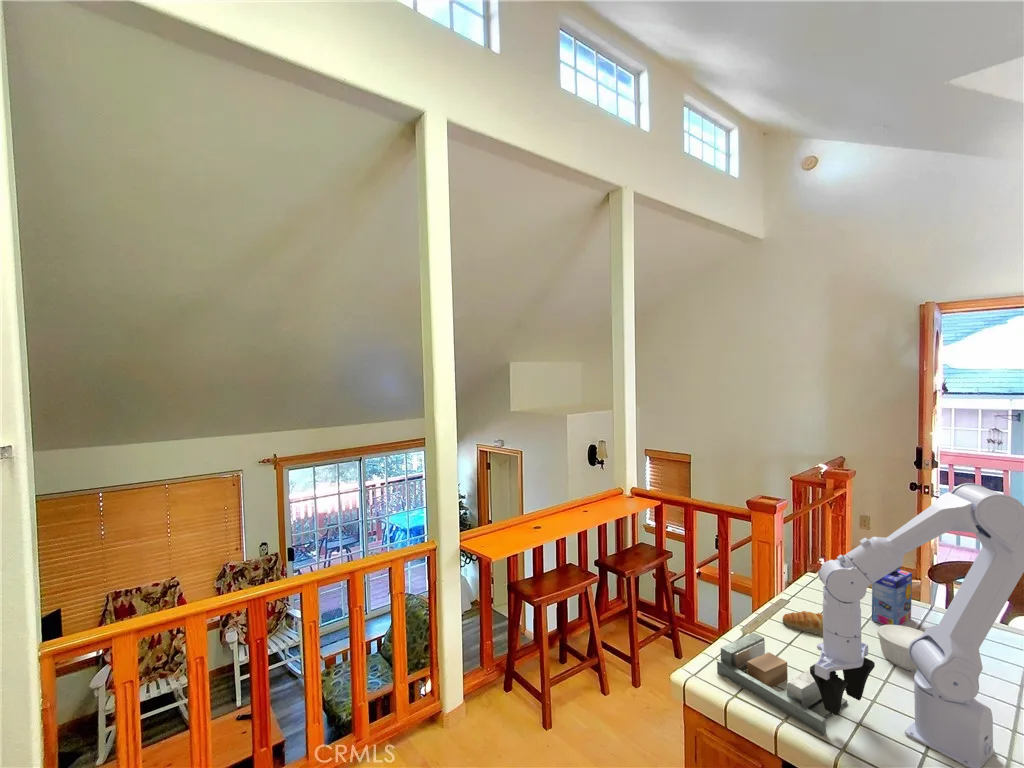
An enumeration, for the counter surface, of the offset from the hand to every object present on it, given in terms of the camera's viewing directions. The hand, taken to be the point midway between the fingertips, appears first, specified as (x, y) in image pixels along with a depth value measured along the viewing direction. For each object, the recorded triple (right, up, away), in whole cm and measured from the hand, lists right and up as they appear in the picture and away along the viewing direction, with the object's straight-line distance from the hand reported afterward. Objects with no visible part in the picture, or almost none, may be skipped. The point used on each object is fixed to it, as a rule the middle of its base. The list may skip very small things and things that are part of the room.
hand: (843, 704), depth 86 cm
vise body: (-5, -3, +9) cm, 11 cm away
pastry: (+14, -3, +32) cm, 35 cm away
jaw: (-3, -2, +5) cm, 6 cm away
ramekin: (+27, -3, +17) cm, 32 cm away
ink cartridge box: (+37, -2, +35) cm, 50 cm away
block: (-7, -3, +12) cm, 14 cm away
